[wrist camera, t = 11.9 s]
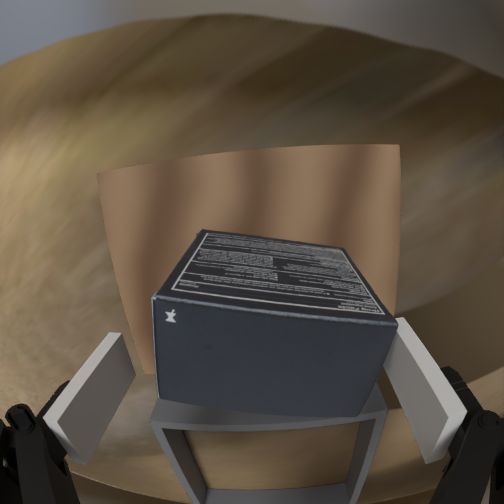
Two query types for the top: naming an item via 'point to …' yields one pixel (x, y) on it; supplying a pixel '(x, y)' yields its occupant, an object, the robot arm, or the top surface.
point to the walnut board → (251, 214)
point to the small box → (268, 328)
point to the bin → (210, 419)
